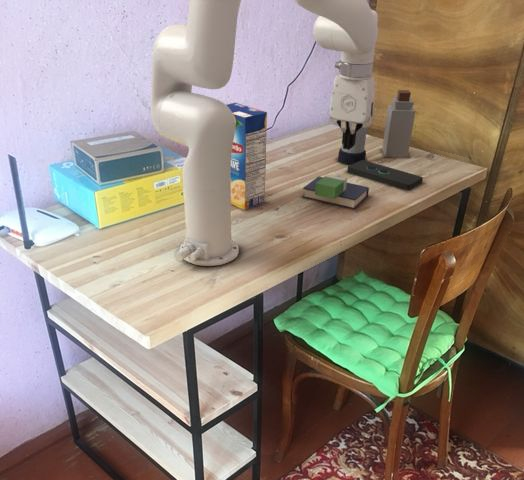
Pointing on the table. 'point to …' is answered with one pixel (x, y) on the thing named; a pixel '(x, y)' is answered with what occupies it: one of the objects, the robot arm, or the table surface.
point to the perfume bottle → (399, 125)
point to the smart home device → (385, 174)
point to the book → (346, 199)
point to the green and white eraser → (330, 186)
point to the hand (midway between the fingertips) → (348, 147)
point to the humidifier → (354, 149)
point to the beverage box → (248, 156)
